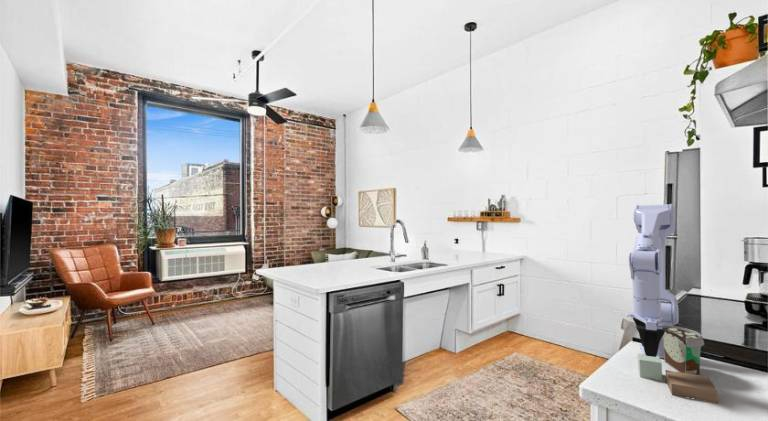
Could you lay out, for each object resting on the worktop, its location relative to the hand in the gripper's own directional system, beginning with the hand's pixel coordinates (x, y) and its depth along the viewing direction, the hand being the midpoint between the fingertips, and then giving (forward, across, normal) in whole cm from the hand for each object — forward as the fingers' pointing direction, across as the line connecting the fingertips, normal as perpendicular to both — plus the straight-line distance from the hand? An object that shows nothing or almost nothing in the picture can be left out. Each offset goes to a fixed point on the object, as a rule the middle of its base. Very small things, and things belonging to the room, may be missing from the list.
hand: (648, 350), depth 93 cm
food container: (+6, -8, +9) cm, 14 cm away
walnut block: (+7, +6, +7) cm, 11 cm away
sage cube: (+6, 0, 0) cm, 6 cm away
